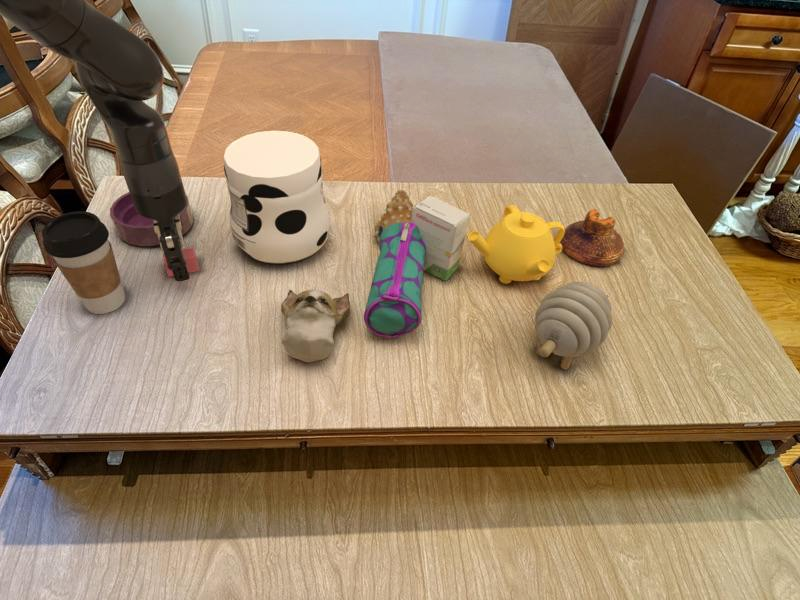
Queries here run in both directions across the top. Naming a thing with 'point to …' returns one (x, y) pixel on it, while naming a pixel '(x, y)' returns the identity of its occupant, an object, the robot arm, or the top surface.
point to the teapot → (519, 246)
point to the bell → (593, 241)
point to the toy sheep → (572, 321)
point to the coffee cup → (85, 259)
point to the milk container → (276, 196)
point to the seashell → (396, 211)
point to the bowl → (141, 222)
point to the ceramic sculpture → (312, 323)
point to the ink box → (440, 235)
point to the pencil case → (397, 282)
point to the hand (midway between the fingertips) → (179, 263)
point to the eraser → (190, 261)
